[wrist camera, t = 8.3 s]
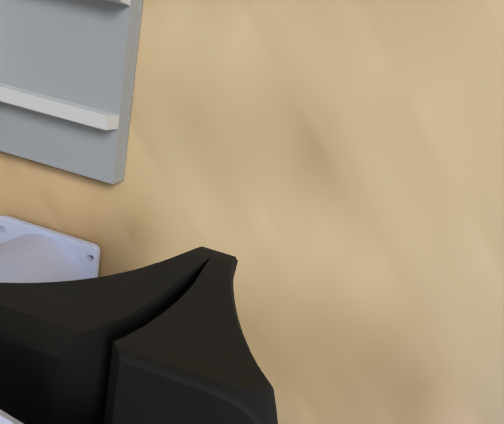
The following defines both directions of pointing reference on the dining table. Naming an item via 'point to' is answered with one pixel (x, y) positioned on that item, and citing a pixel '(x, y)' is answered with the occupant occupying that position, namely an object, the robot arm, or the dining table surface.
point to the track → (69, 82)
